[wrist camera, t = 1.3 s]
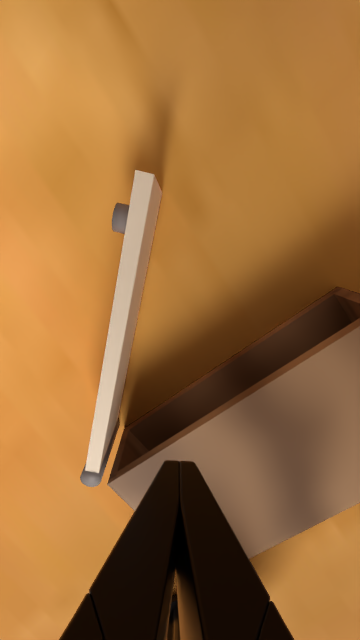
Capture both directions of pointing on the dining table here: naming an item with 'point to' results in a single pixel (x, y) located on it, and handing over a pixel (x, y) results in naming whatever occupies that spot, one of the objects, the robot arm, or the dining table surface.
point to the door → (122, 316)
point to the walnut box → (265, 428)
